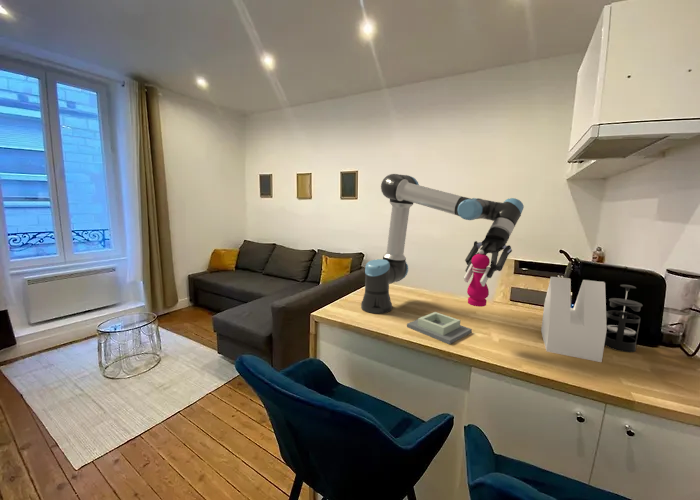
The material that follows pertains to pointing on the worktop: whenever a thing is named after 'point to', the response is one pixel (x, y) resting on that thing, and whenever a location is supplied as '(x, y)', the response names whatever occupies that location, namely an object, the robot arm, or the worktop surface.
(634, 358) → the worktop surface
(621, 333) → the french press
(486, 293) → the pepper mill
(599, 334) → the white notched cradle block
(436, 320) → the socket board
